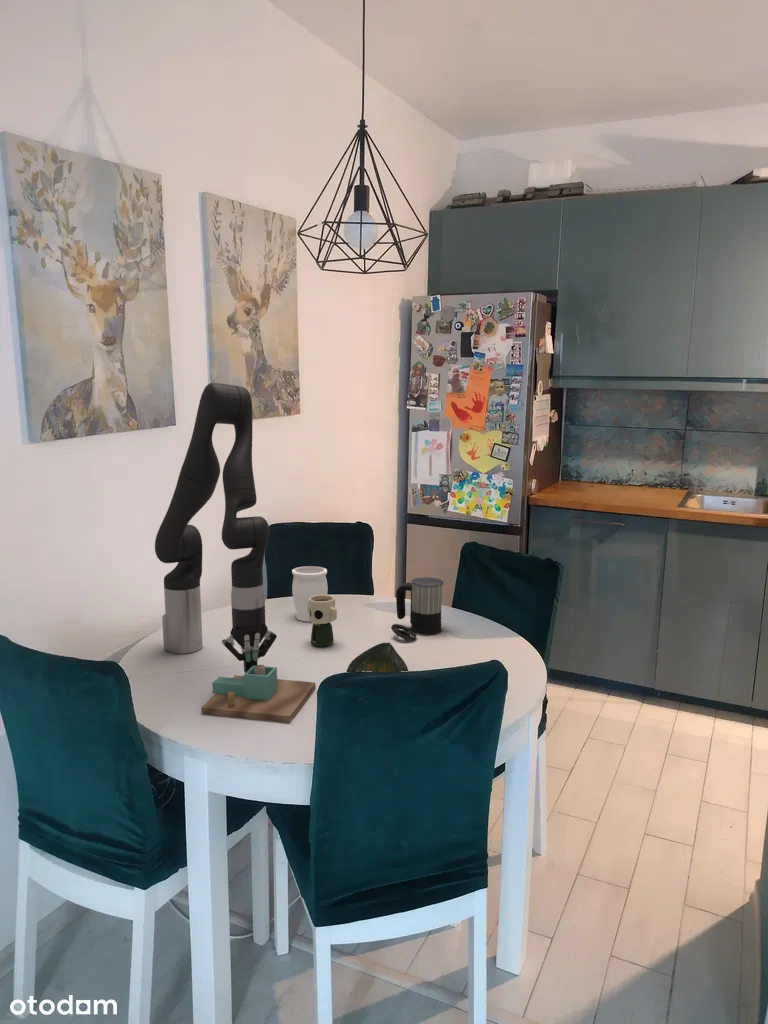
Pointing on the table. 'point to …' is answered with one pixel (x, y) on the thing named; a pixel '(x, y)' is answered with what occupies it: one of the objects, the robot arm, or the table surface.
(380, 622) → the table surface
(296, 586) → the jar
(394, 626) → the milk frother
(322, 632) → the character mug
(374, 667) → the squash
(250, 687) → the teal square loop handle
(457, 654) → the table surface
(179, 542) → the robot arm
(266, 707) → the base
